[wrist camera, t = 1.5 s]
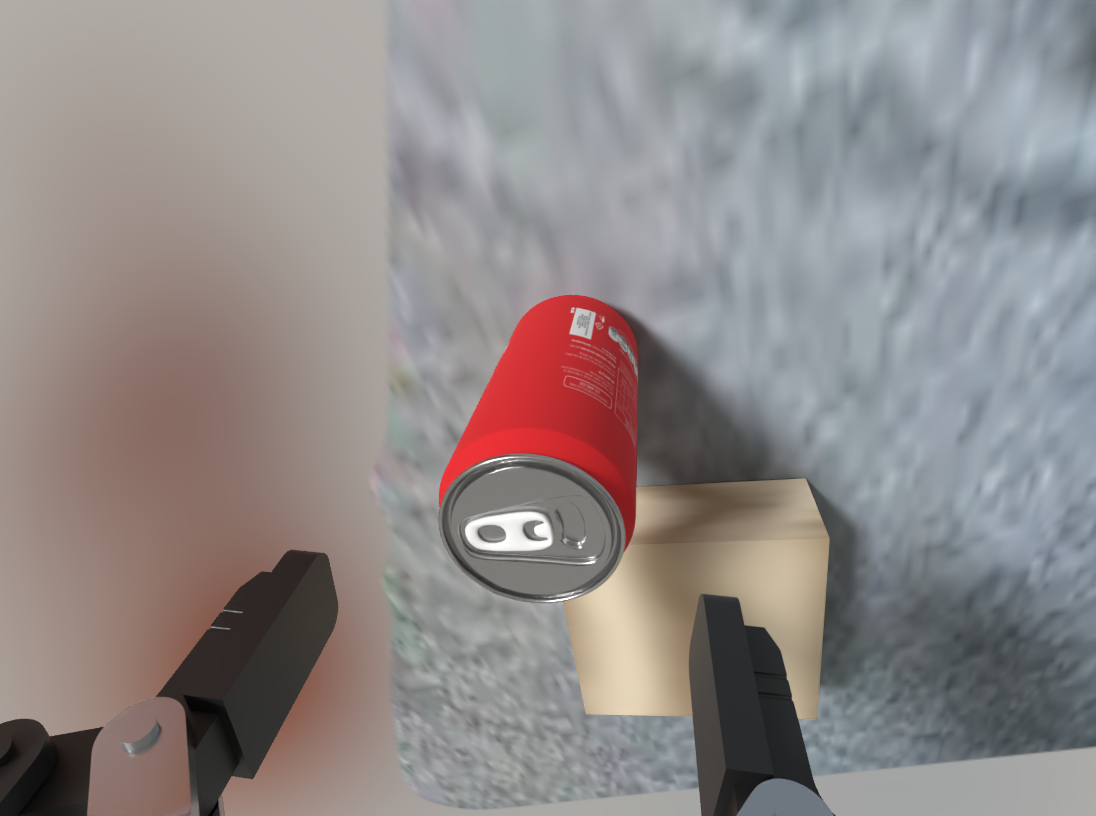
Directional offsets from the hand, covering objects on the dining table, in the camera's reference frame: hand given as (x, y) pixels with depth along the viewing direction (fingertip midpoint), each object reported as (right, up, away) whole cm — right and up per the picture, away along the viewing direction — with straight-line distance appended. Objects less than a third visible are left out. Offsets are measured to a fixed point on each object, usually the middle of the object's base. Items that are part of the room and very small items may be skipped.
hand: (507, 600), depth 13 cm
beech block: (+8, -4, +18) cm, 20 cm away
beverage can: (+2, +7, +13) cm, 15 cm away
